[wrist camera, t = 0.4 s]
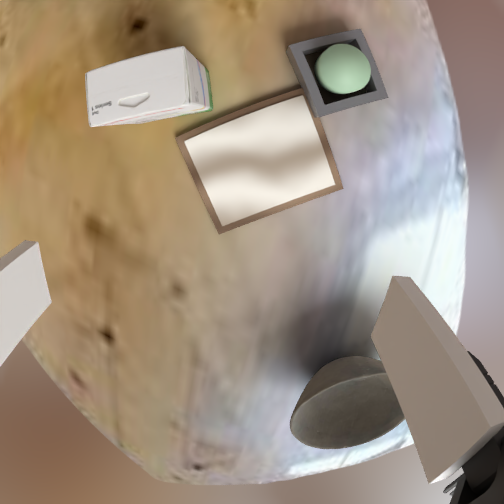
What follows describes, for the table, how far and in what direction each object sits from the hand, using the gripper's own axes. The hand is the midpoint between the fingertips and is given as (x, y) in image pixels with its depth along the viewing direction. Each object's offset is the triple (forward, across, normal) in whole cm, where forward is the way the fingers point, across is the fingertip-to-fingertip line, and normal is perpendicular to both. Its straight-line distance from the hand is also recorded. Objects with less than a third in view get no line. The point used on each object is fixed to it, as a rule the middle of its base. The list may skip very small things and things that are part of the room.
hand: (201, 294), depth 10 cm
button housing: (+25, +9, +12) cm, 29 cm away
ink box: (+25, -8, +8) cm, 27 cm away
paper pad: (+24, +2, +1) cm, 25 cm away
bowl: (+24, +19, -29) cm, 42 cm away
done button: (+23, +9, +12) cm, 27 cm away
